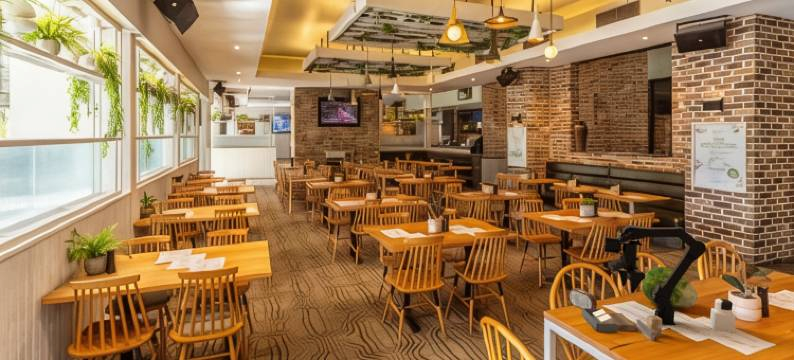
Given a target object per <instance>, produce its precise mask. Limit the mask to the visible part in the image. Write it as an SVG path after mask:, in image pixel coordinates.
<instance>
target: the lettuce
mask: <svg viewBox="0 0 794 360" xmlns="http://www.w3.org/2000/svg"><path fill="white" fill-rule="evenodd" d="M673 269H674V268H671V267H670V268H669V267H667V266H655V267H652V268H650V269H649V270H647V271H646V273H644V274H645V279H643V280H642V281H641V289H642V292H643V295H644V296H645V297H646V298H647V299H648V300H649V301H650V302H652V303H654V304H656V303H655V302H654V299H653V296H652V294H653V291H652V290H653V289H655V287H656V285H657V283H658V284H659V285H661V284H663V283H664V282H665V281H666V279H667V278H668V277H669V275H670V274H671V272H672V271H673ZM670 300H671V301H672V303H673V305H674V307H675V309H676V308H679V309H680V308H689V307H692V306H694V305H696V303H697V302H698V292H697V290H696V288H695V287H694V286H693V285H692V282H691V281H690V280H689V279H688V278H687V277H685V276H684V275H683V277H682V278H681V279H680V281H679V282H678V284H677V285H676V287H675V288H674V290H673V293H672V296H671V299H670Z"/></svg>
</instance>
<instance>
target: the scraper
mask: <svg viewBox="0 0 794 360" xmlns="http://www.w3.org/2000/svg"><path fill="white" fill-rule="evenodd" d="M635 325H636V328H635V329H637V330H638V331H639V332H640V333H641V334H643V335H644V336H645V337H646V338H648V340H649V341H650V342H654V341H655V337H656V338H657V337H662V328H663V327H662V325H663V324H662V319H661V318H659V317H658V316H655V315H647V316H646V324H645V323H644V322H643V321H642V320H640V319H636V324H635Z"/></svg>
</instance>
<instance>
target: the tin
mask: <svg viewBox="0 0 794 360" xmlns="http://www.w3.org/2000/svg"><path fill="white" fill-rule="evenodd" d="M568 296H569V300H570V302H571V304H572V305H573V306H575V307H577V308H579V309H581V310H582V308H598V304H597V300H596V297H595V295H594V294H593V293H591V292H589V291H586V290H585V289H583V288H582V289H581V288H579V287H576V288H572V289H570V291H569V295H568Z"/></svg>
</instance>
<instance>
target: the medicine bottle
mask: <svg viewBox="0 0 794 360" xmlns="http://www.w3.org/2000/svg"><path fill="white" fill-rule="evenodd" d="M733 305H734V304H733V302H732V301H731V300H729V299H724V298H717V299H715V300H714V307H711V309H710V317H709V318H710V319H709V320H710V321H709V324H710V325H711V327H712V328H713V330H714V331H719V330H720V332H728V331H729V332H730V333H735V330H736V317H737V316H736V314H735V313H733Z"/></svg>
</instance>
